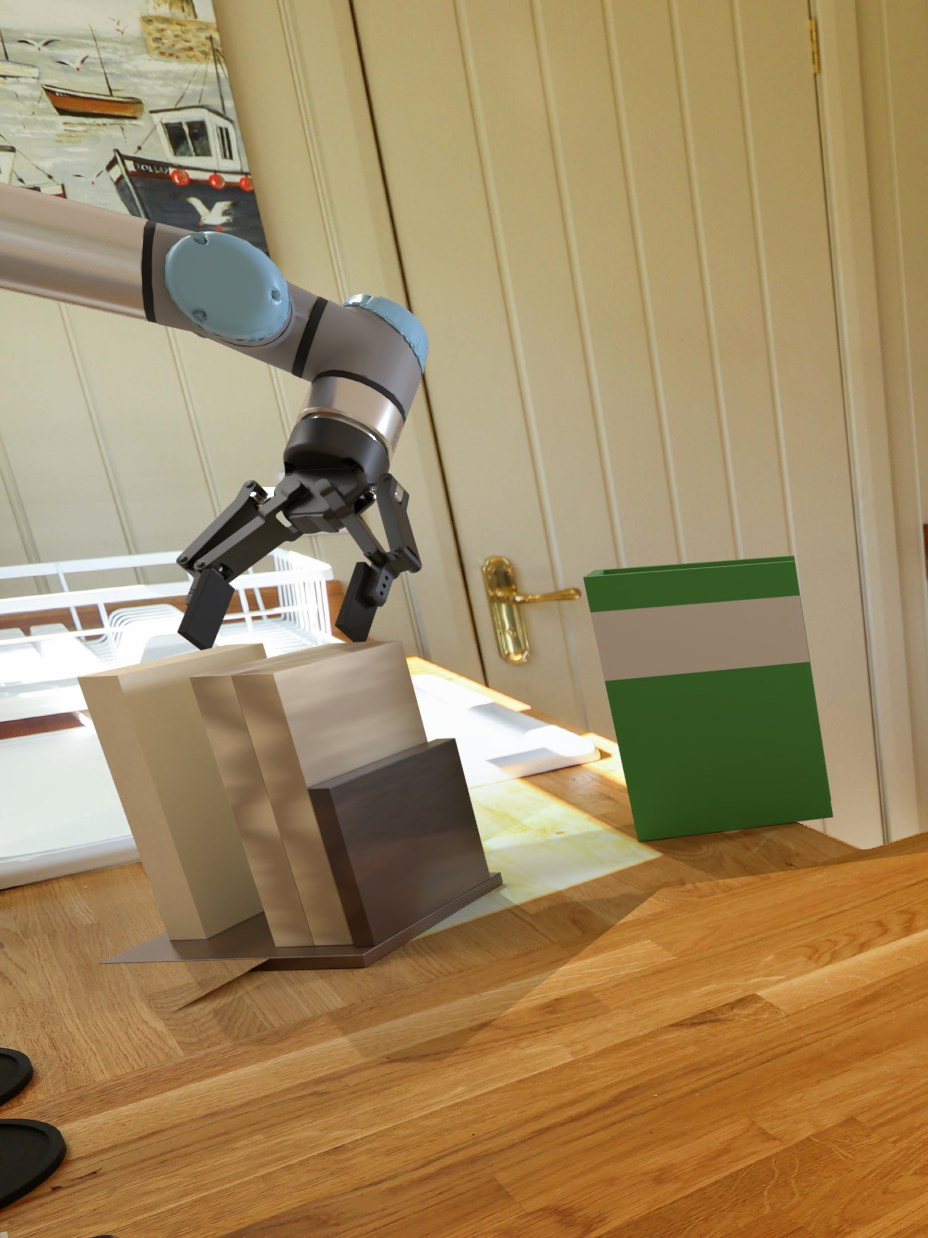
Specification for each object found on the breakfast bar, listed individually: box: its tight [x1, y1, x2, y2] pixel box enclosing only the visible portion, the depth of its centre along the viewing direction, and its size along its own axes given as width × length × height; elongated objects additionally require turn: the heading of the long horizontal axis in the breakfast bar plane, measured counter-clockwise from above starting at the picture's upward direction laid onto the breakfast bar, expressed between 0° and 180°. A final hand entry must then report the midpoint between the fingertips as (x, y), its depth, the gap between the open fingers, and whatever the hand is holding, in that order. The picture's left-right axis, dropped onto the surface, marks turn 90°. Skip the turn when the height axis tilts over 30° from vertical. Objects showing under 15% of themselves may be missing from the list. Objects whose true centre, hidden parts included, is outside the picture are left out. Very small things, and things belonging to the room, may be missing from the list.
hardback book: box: [582, 554, 834, 843], centre depth 119 cm, size 18×7×24 cm, turn 107°
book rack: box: [98, 639, 504, 972], centre depth 96 cm, size 20×18×21 cm
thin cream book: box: [76, 642, 268, 940], centre depth 98 cm, size 3×14×20 cm, turn 178°
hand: (271, 639), depth 105 cm, fingers open, 13 cm apart
